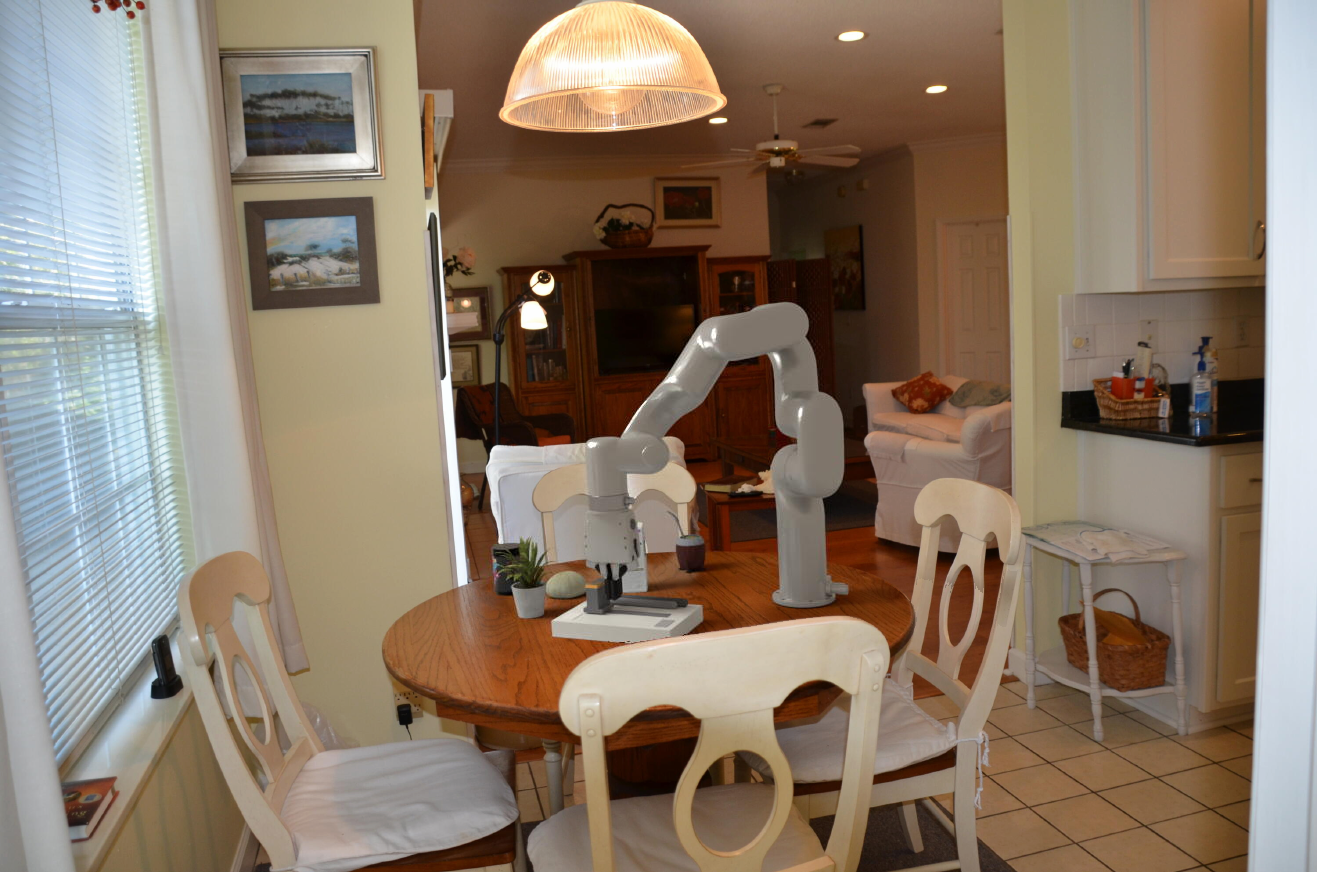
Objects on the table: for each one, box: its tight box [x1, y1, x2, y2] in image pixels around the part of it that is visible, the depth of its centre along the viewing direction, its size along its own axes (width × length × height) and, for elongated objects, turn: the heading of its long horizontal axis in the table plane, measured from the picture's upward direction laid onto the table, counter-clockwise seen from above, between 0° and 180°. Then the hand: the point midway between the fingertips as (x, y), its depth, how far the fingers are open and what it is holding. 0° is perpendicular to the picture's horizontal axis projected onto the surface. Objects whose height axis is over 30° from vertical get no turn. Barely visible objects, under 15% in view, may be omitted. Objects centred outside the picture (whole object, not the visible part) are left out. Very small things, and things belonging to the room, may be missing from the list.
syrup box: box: [622, 521, 649, 594], centre depth 203 cm, size 6×6×14 cm
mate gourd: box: [666, 510, 707, 574], centre depth 217 cm, size 8×8×15 cm
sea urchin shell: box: [546, 570, 588, 599], centre depth 203 cm, size 9×8×8 cm
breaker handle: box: [583, 577, 614, 614], centre depth 178 cm, size 4×5×5 cm
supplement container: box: [491, 542, 523, 596], centre depth 207 cm, size 7×7×10 cm
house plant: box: [492, 536, 556, 619], centre depth 189 cm, size 14×14×16 cm
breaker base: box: [550, 593, 704, 644], centre depth 176 cm, size 24×16×5 cm, turn 66°
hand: (614, 598), depth 176 cm, fingers closed
